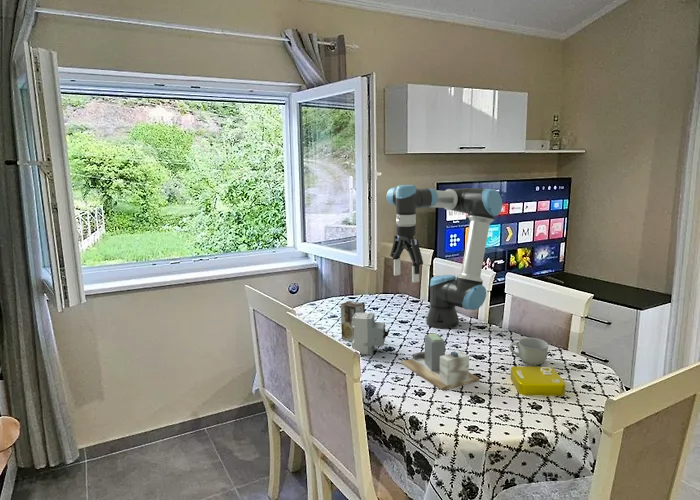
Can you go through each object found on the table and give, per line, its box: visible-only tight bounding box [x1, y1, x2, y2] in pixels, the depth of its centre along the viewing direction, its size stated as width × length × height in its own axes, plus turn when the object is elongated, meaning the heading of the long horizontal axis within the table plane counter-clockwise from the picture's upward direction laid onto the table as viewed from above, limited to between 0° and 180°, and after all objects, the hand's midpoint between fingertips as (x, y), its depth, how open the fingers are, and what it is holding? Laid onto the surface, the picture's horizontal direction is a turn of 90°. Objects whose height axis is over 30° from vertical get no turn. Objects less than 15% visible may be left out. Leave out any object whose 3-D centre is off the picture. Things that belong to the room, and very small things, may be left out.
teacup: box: [508, 337, 549, 366], centre depth 194 cm, size 14×11×8 cm
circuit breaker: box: [351, 312, 390, 355], centre depth 208 cm, size 8×14×15 cm, turn 78°
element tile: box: [510, 365, 566, 397], centre depth 174 cm, size 15×15×5 cm
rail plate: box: [400, 350, 480, 391], centre depth 186 cm, size 16×26×11 cm, turn 26°
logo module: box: [424, 332, 446, 371], centre depth 188 cm, size 5×8×12 cm, turn 10°
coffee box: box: [339, 300, 366, 343], centre depth 222 cm, size 9×6×16 cm
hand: (406, 278), depth 201 cm, fingers open, 13 cm apart
